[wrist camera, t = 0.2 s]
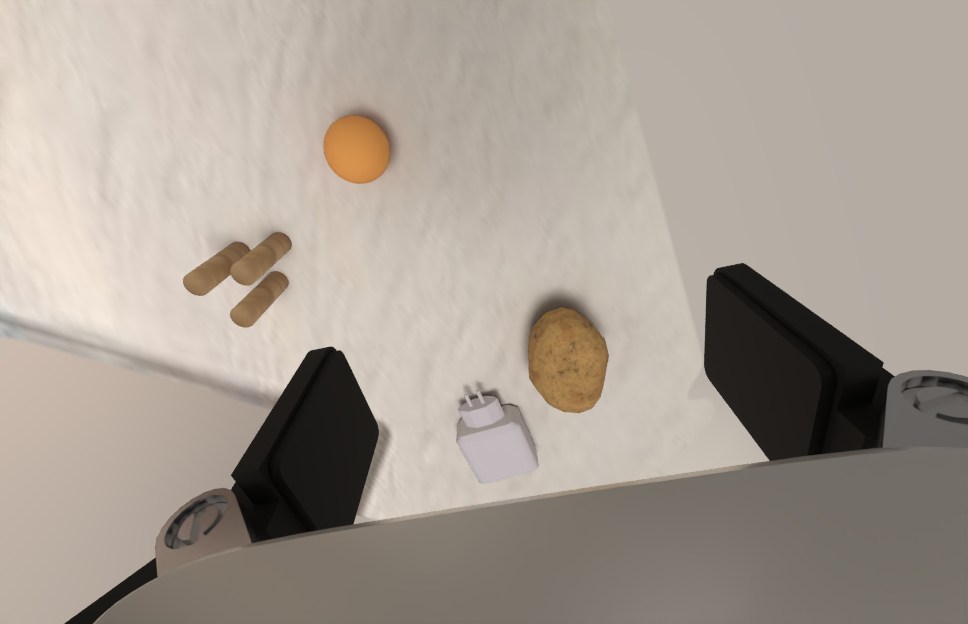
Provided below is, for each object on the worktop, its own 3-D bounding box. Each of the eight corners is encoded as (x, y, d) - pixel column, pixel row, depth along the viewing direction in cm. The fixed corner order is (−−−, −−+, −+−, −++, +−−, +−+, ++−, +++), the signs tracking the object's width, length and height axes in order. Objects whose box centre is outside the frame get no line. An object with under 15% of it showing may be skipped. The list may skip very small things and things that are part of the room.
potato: (593, 282, 50) (612, 316, 43) (603, 374, 57) (620, 416, 50) (513, 299, 51) (518, 334, 44) (532, 386, 58) (539, 429, 51)
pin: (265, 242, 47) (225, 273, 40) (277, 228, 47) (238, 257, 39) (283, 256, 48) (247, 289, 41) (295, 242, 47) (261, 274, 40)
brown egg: (322, 144, 42) (300, 154, 37) (360, 98, 40) (342, 102, 35) (369, 188, 44) (354, 203, 39) (407, 146, 42) (397, 157, 37)
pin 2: (263, 280, 50) (225, 316, 42) (274, 267, 49) (238, 302, 42) (280, 293, 51) (246, 331, 43) (292, 281, 50) (259, 317, 42)
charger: (503, 371, 57) (535, 445, 64) (440, 390, 59) (478, 460, 66) (505, 394, 53) (539, 471, 60) (437, 414, 54) (478, 486, 61)
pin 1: (225, 251, 48) (178, 284, 40) (236, 237, 47) (190, 268, 40) (243, 265, 49) (201, 300, 41) (255, 252, 48) (214, 285, 41)
